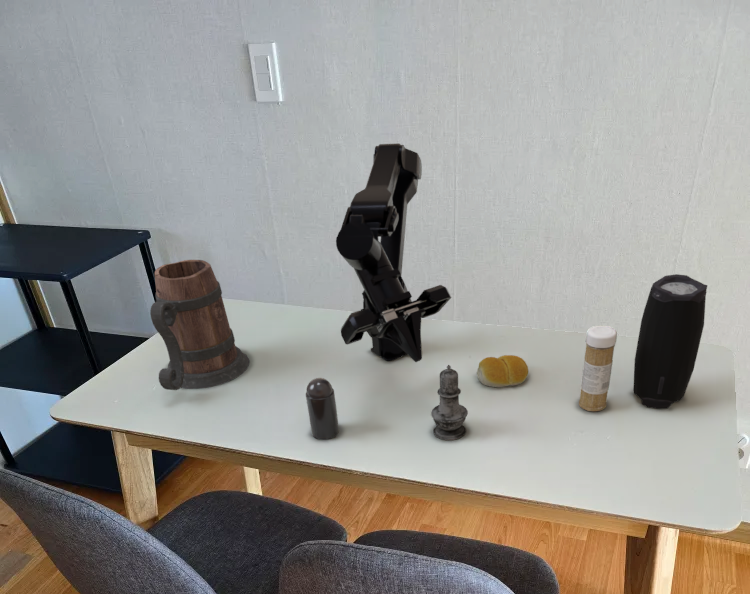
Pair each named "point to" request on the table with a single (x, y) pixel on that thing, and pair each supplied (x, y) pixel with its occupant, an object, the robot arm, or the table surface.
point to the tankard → (194, 327)
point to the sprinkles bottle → (597, 367)
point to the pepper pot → (322, 409)
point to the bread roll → (502, 371)
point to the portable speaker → (669, 340)
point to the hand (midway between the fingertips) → (418, 360)
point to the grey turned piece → (449, 408)
